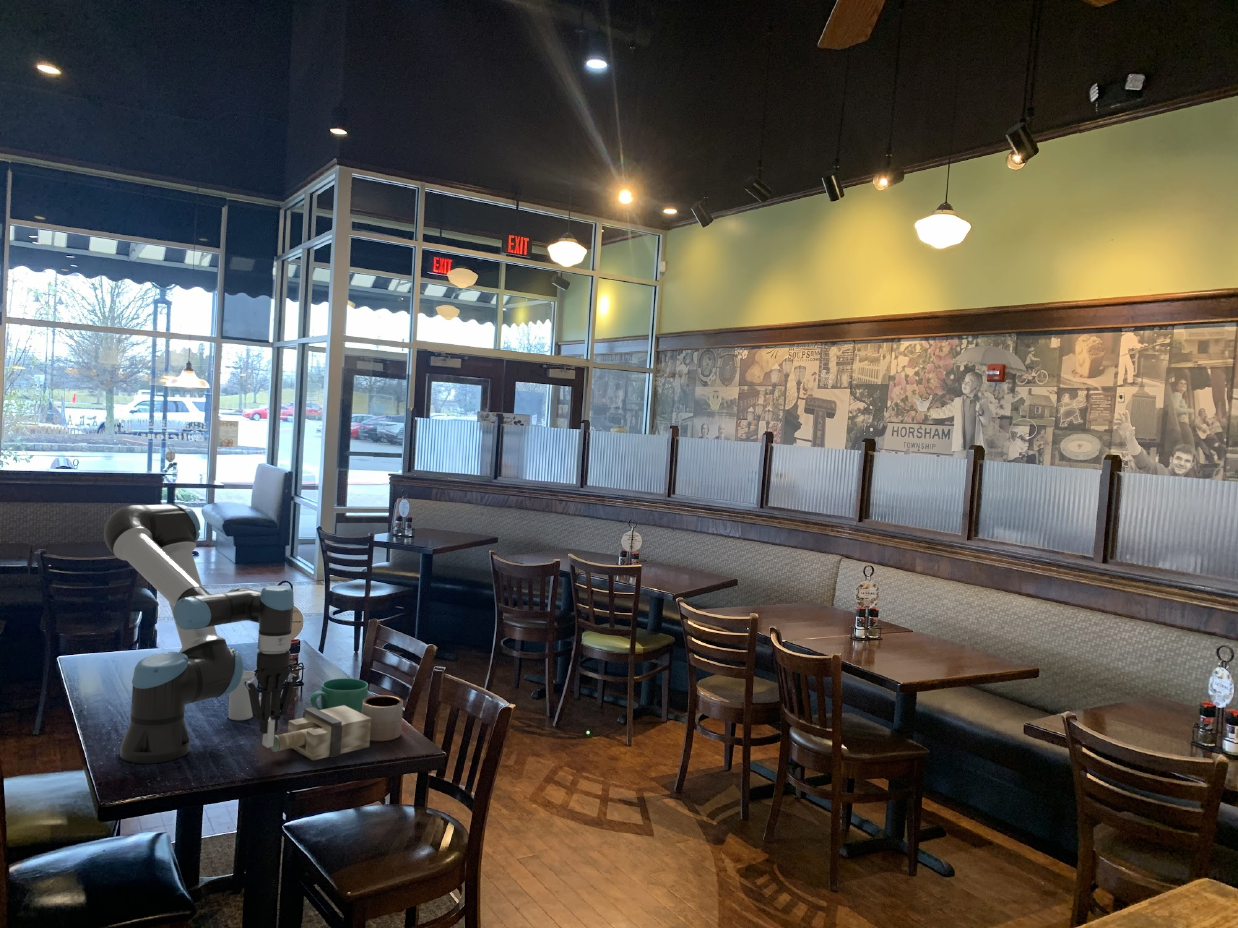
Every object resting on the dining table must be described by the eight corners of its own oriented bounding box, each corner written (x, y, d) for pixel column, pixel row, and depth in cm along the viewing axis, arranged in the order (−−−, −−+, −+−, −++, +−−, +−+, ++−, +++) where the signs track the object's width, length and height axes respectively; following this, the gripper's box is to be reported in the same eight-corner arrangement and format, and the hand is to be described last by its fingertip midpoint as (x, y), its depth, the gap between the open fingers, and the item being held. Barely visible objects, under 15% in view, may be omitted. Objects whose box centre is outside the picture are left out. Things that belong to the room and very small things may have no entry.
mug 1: (230, 721, 238) (233, 678, 237) (224, 714, 243) (227, 672, 243) (268, 717, 244) (271, 674, 243) (262, 710, 249) (265, 668, 249)
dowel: (277, 753, 213) (278, 738, 213) (269, 749, 216) (270, 733, 216) (329, 741, 224) (330, 726, 224) (321, 737, 226) (322, 722, 226)
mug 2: (353, 707, 258) (355, 675, 258) (373, 719, 249) (376, 686, 249) (298, 716, 246) (301, 683, 246) (318, 729, 237) (320, 695, 237)
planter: (367, 727, 242) (369, 693, 242) (405, 730, 242) (408, 696, 242) (353, 740, 231) (356, 705, 231) (394, 744, 231) (396, 708, 231)
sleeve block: (314, 761, 215) (317, 727, 215) (284, 743, 225) (287, 711, 225) (371, 747, 227) (373, 715, 227) (340, 731, 237) (342, 700, 237)
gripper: (254, 657, 205) (248, 755, 206) (306, 649, 215) (300, 744, 215) (240, 650, 210) (234, 746, 211) (291, 643, 220) (285, 735, 220)
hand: (267, 745), depth 213 cm, fingers closed
